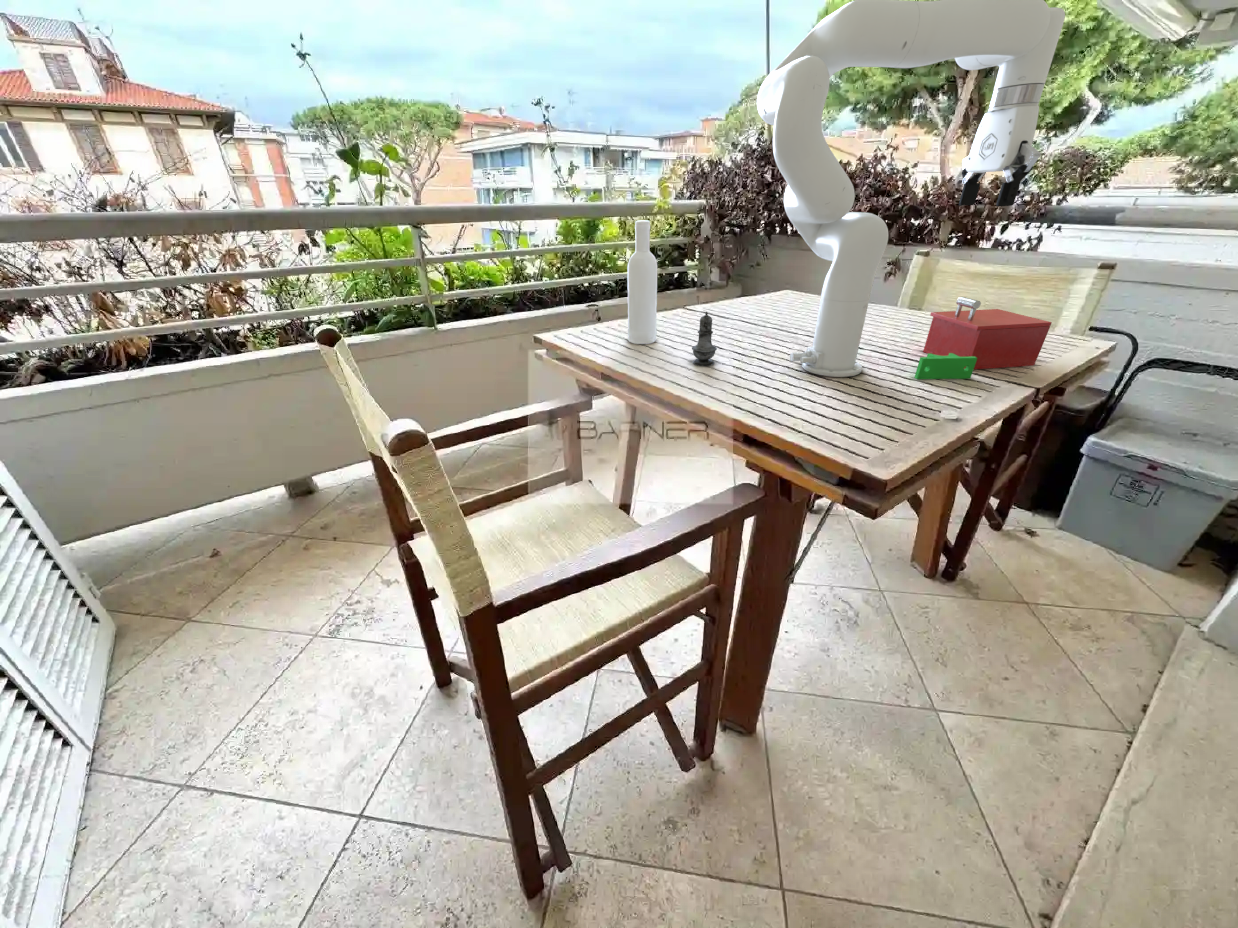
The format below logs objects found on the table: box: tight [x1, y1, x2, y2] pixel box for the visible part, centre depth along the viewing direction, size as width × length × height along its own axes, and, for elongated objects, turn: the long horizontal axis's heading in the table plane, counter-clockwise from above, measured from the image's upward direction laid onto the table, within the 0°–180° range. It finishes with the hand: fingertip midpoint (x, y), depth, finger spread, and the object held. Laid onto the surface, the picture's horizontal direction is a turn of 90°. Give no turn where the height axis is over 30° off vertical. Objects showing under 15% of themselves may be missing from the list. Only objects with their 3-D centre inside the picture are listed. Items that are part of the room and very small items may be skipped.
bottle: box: [627, 219, 658, 345], centre depth 127 cm, size 8×8×30 cm
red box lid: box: [929, 296, 1052, 330], centre depth 109 cm, size 18×15×5 cm
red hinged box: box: [922, 316, 1051, 370], centre depth 112 cm, size 17×15×9 cm
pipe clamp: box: [914, 353, 977, 380], centre depth 103 cm, size 11×4×5 cm, turn 89°
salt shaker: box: [691, 311, 718, 367], centre depth 113 cm, size 6×6×12 cm
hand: (984, 205), depth 97 cm, fingers open, 9 cm apart
